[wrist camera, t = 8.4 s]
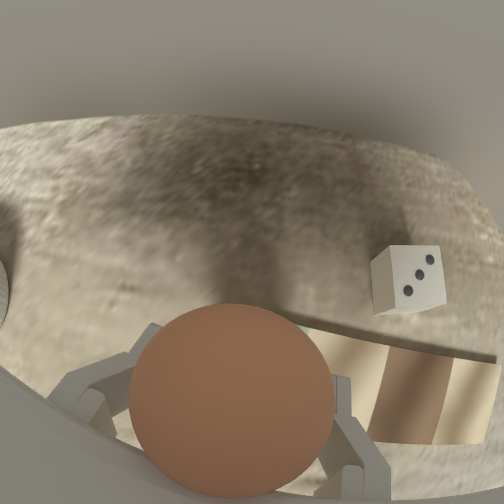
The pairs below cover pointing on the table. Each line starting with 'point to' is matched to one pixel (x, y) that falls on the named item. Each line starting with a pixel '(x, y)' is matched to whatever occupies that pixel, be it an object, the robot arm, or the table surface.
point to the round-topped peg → (231, 400)
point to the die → (407, 279)
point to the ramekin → (3, 293)
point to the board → (412, 391)
